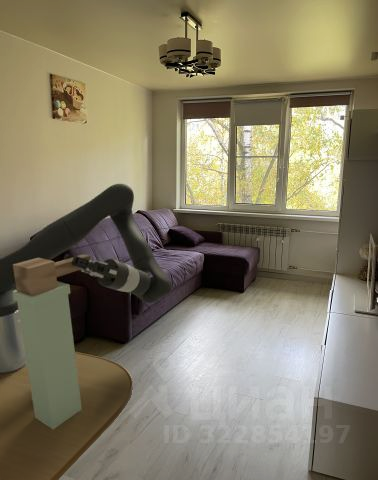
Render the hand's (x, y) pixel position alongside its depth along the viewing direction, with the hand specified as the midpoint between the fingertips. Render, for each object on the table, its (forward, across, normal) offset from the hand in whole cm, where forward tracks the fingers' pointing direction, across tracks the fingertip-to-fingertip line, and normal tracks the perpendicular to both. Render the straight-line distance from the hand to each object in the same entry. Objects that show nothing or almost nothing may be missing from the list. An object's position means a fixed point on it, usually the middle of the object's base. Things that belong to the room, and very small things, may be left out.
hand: (69, 259), depth 86 cm
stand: (-11, 0, +36) cm, 37 cm away
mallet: (+1, 0, +6) cm, 6 cm away
